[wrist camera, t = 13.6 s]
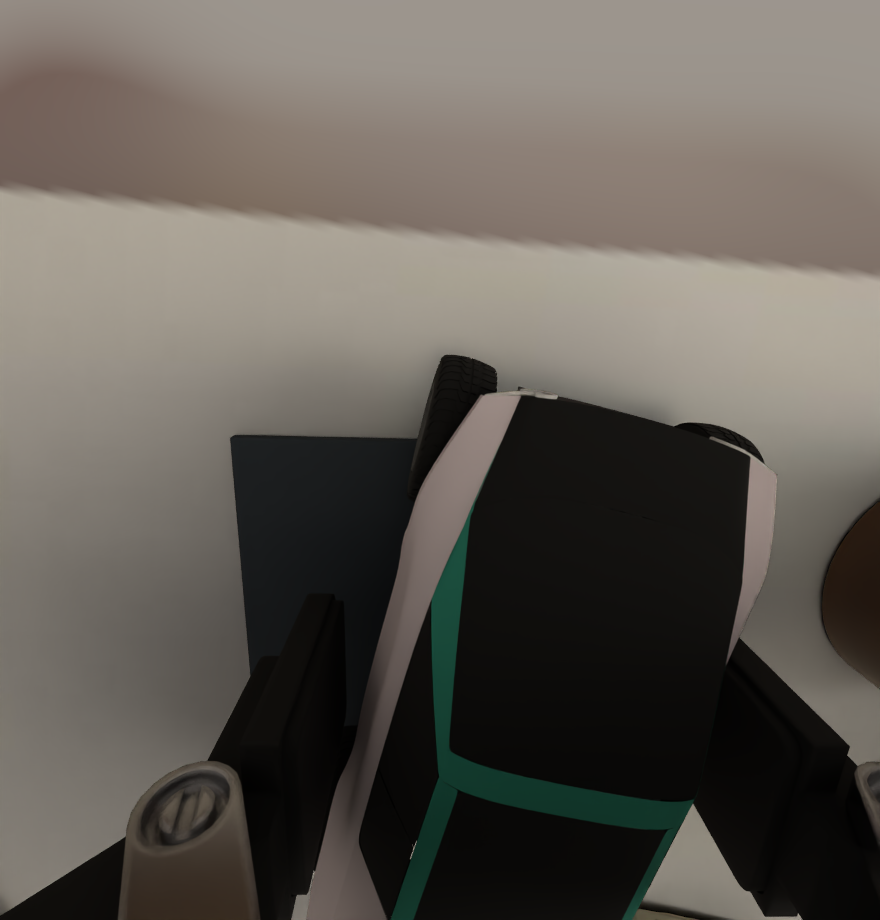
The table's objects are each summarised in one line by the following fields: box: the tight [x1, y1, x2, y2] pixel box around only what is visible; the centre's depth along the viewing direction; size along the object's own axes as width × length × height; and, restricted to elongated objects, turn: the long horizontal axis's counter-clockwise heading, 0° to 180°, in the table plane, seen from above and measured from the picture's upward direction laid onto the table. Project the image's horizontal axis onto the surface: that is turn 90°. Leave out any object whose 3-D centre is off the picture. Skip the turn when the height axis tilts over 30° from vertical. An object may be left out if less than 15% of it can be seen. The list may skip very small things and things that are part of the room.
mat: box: [230, 435, 614, 739], centre depth 12 cm, size 12×9×1 cm
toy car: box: [307, 355, 777, 920], centre depth 9 cm, size 6×12×5 cm, turn 165°
